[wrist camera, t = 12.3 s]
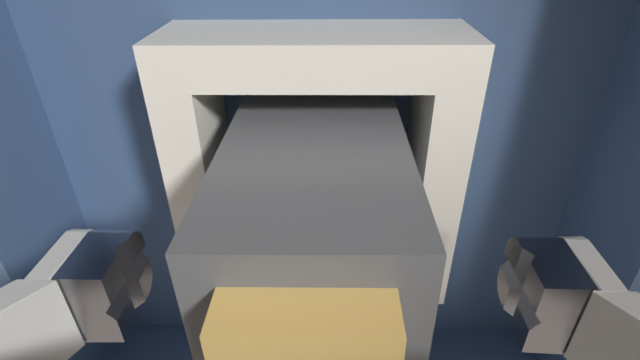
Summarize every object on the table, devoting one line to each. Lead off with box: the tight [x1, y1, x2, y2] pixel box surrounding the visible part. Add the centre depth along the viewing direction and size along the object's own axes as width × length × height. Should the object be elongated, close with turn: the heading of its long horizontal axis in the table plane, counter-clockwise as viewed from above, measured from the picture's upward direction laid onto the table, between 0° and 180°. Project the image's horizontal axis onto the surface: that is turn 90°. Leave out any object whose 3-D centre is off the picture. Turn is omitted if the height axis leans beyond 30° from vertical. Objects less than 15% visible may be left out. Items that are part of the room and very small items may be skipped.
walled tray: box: [0, 0, 640, 360], centre depth 13 cm, size 20×20×5 cm
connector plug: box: [165, 95, 447, 360], centre depth 11 cm, size 4×4×9 cm
